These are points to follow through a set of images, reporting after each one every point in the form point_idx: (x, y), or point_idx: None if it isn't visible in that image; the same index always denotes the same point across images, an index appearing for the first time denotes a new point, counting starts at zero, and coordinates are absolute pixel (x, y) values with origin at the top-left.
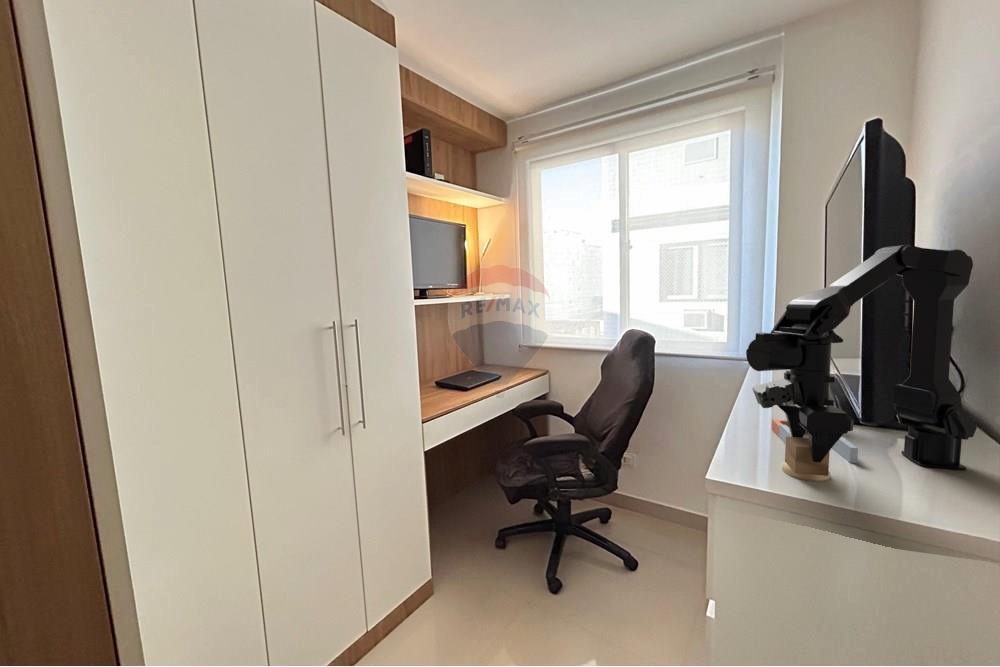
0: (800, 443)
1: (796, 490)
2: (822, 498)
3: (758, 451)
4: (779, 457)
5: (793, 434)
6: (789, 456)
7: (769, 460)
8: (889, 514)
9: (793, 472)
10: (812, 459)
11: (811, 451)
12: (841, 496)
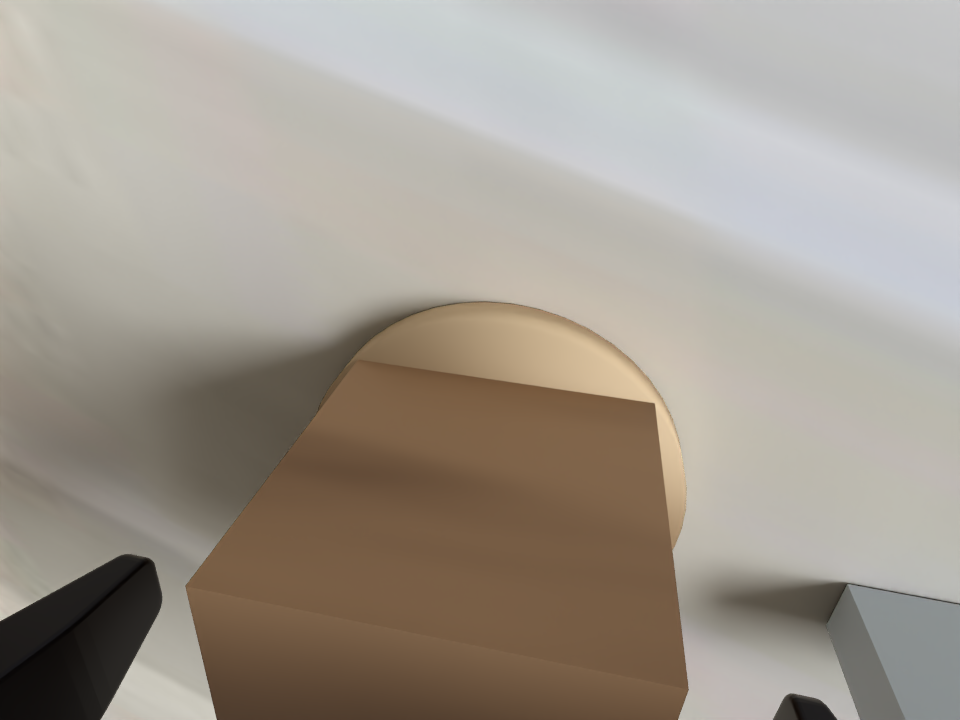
0: (345, 693)
1: (92, 225)
2: (40, 351)
3: None
4: (896, 431)
5: None
6: (503, 451)
7: (811, 286)
8: (17, 571)
9: (364, 351)
10: (114, 566)
11: (12, 643)
12: (134, 479)
